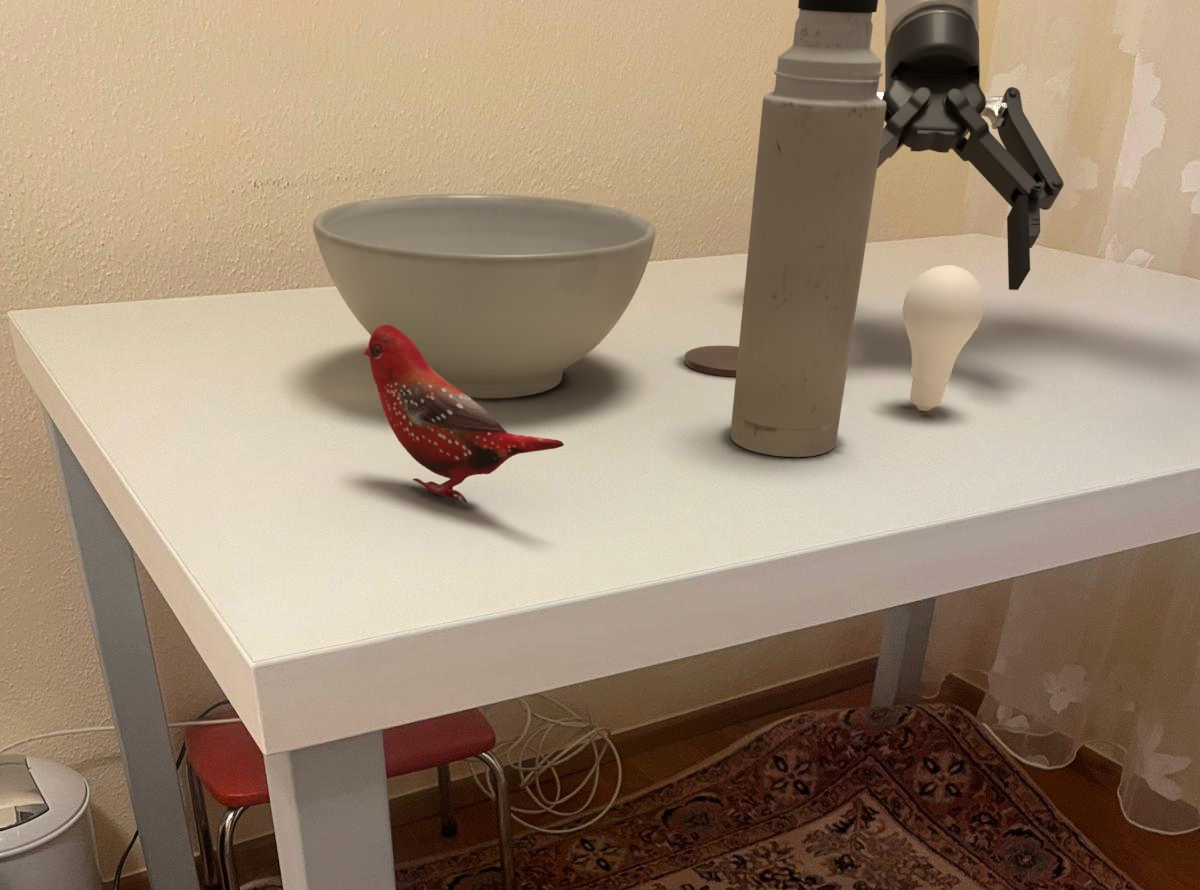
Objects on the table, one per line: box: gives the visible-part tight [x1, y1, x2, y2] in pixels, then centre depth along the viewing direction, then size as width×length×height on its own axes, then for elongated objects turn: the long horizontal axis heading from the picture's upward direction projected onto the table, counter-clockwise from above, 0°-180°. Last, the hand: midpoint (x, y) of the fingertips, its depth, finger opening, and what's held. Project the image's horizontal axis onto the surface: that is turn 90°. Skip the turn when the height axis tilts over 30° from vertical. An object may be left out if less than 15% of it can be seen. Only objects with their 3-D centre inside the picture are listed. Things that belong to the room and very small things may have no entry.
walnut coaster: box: [684, 345, 739, 378], centre depth 107 cm, size 8×8×1 cm
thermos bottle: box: [729, 0, 886, 458], centre depth 82 cm, size 8×8×28 cm
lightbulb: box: [902, 264, 985, 412], centre depth 94 cm, size 6×6×11 cm
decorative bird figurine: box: [363, 325, 565, 503], centre depth 75 cm, size 3×18×10 cm, turn 49°
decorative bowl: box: [312, 193, 656, 399], centre depth 98 cm, size 27×27×12 cm
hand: (934, 277), depth 95 cm, fingers open, 13 cm apart
